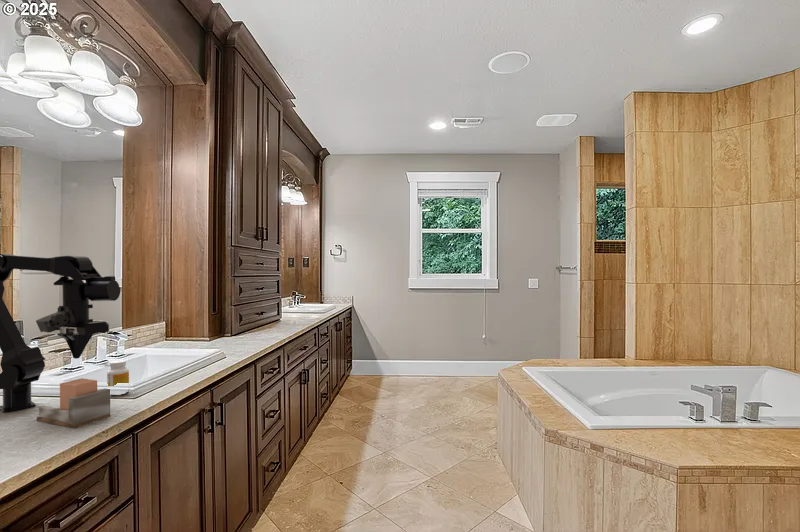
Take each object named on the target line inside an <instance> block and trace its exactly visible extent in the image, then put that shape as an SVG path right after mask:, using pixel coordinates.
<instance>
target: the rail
mask: <svg viewBox="0 0 800 532" xmlns="http://www.w3.org/2000/svg"><path fill="white" fill-rule="evenodd" d="M68 406H69V410H63V409H60V408H58V407H57V408H56V407H53V406H52V407H51V406H45V405H41V406H39V407H38V416H37V417H36V421H37V422H42V423H47V424H52V425H56V426H61V427H67V428H72V429H75V428H79V427H83V426H85V425H88V424H90V422H91V423H94V422H96V420H97V421H100V420H103V419H107V418H110V417H111V396H110V389H107V388H101V389H97V391H94V392H90V393H86V394H83V395H79V396H75V397H71V398H68ZM93 421H94V422H93ZM84 424H85V425H84Z"/></svg>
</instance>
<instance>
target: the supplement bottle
mask: <svg viewBox="0 0 800 532" xmlns="http://www.w3.org/2000/svg"><path fill="white" fill-rule="evenodd" d="M126 365H127V361H126V360H125V359H124V360H123V359H120V360H114V361H110V362H109V368H110V369H108V370H107V373H106V375H107V376H106V378H107V380H106V381H107V382H106V384H108V386H114V385H116V384H117V383H129V384H130V369H129V367H126Z"/></svg>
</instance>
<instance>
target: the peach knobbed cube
mask: <svg viewBox="0 0 800 532" xmlns="http://www.w3.org/2000/svg"><path fill="white" fill-rule="evenodd" d="M94 391H98V380H97V379H96V380H95V379H91V378H90V379H88V378H82V377H81V378H77V379H73V380H69V381H64V382H61V383H59V409H63V410H69V406H68V398H71V397H75V396H79V395H83V394H86V393H90V392H94Z"/></svg>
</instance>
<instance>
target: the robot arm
mask: <svg viewBox="0 0 800 532" xmlns="http://www.w3.org/2000/svg"><path fill="white" fill-rule="evenodd" d="M14 270H23V271H36V272H37V271H38V272H48V273H50V274H53V275H56V276H60V277H59V279H58V280H56V281H54V282H53V286H62V287H61V289H62V305H58V307H57V311H56V312H53V313H51V314H48V315H45V316H44V317H41V318H38V319H36V320H35V322H36V324H37V327H38V330H39V331H40V333H53V332H55V331H59V333H56V335H57V336H58V337H61V338H62V339H64V340H65V342H66V343H67V345H68V348H69V350H70V353H71V355H72V357H73V359H77V360H78V359H80V358H81V357H82V354H83V352H84V350H85V349H86V347H87V345H88V343H89V342H90V340H91V339H92V337H93V336H94V335H95V334H96V335H97V334H102V333H109V332H110V324H109V323H108V322H106V321H99V320H98V321H94V318H90V309H93V308H94V305H93V303H90V301H91V302H110V301H111V302H115V301H117V300H118V299H119V298H120V295H121V287H120V284H119V282H118V281H117V280H116V276H113V275H111V276H108V275H107V276H102V275H101V274H100V273H99V271H98V270H97V269H96V268H95V267H94V265H93V262H92V260H91V259H90V258H89V257H88V256H86V255H85V256H84V255H83V256H82V255H62V256H54V257H44V256H42V257H40V256H39V257H38V256H27V255H26V256H25V255H15V254H11V253H0V350H1V353H2V355H1V358H0V359H1V360H0V367H1V370H2V371H1V372H0V390H2V405H0V409H1V410H2V411H1V410H0V411H1V412H3V413H7V412H6V411H9V412H13V410H14V411H17V410H23V409H29V408H31V407H36V405H37V404H36V403H35V402H34V401H33V400H32V383H33V382H37V381H39V379H40V377H41V375H42V373H43V372H44V369H45V368H46V362H45V360H46V358H45V357H44V356H43V354H42V351H41V349H40V347H38V346H35V347H31V346H29V345H27V344H26V342H25V340H24V338H23V336H22V334H21V332H20V330H19V328H18V326H17V324H16V322H15V321H14V318H13V317H12V315H11V313H10V310H9V309H8V306H7V305H6V303H5V301H4V299H3V296H4V293H5V286H4V282H5V281H6V280H8V279H9V278H10V277H11V275H12V272H13V271H14ZM84 281H85V282H84Z"/></svg>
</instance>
